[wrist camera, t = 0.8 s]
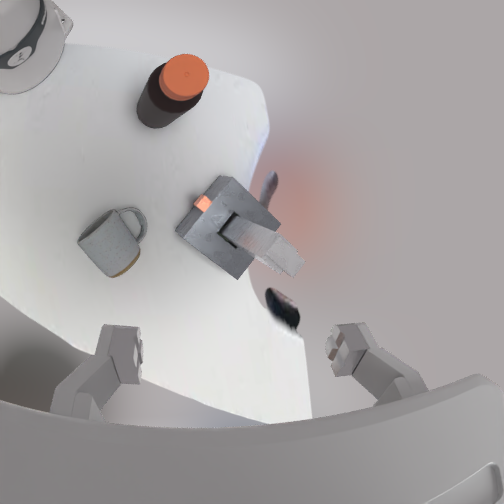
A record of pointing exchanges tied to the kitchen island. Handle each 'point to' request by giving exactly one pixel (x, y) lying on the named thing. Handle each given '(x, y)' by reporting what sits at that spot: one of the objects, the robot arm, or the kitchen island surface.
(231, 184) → the stand sleeve
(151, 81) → the bottle
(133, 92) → the kitchen island surface
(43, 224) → the kitchen island surface
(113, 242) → the ceramic mug
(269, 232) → the column
